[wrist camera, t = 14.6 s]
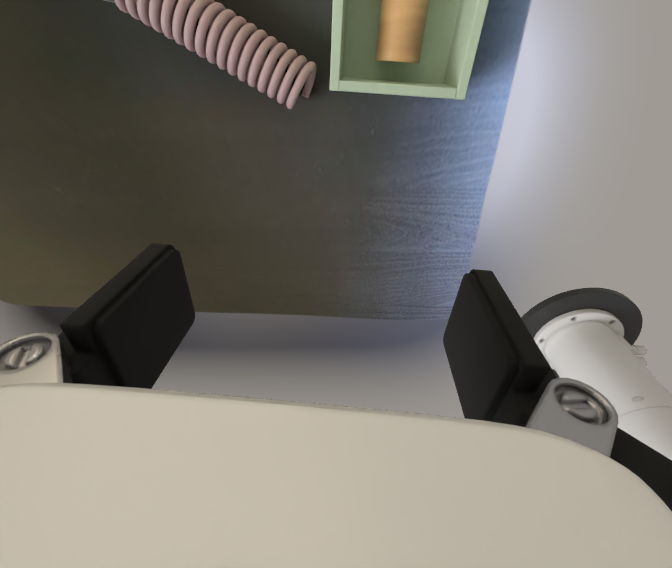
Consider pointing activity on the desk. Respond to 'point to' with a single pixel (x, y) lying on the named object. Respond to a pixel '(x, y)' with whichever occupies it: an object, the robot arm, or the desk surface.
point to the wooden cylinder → (401, 30)
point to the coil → (228, 44)
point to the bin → (401, 77)
